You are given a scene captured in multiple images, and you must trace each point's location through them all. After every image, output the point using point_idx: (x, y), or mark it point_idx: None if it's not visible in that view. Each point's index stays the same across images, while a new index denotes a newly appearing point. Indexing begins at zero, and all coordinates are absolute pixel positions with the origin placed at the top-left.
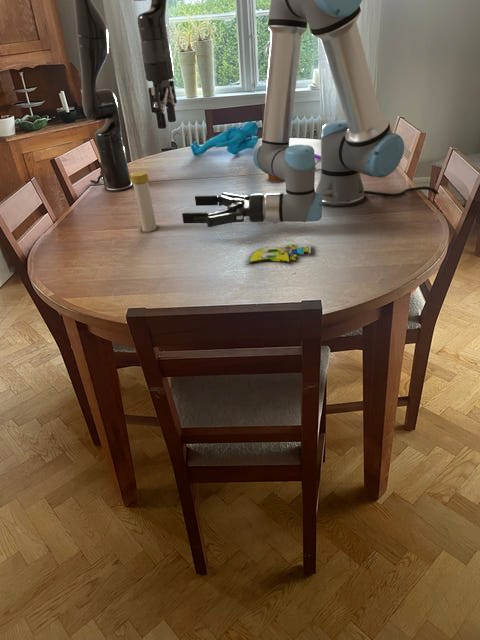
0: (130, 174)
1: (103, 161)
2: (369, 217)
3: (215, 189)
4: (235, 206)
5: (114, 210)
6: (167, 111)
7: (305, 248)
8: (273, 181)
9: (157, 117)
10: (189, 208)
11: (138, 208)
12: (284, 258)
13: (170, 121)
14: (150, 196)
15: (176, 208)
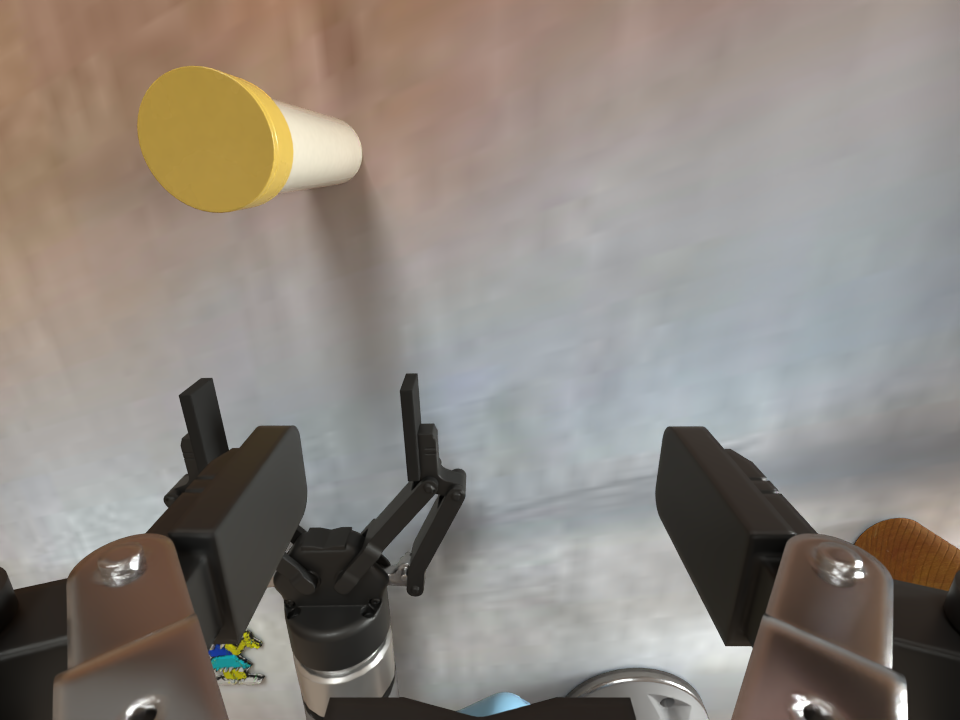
0: (171, 76)
1: None
2: None
3: (832, 318)
4: (282, 574)
5: None
6: (721, 512)
7: (237, 673)
8: (858, 538)
9: (157, 531)
10: (581, 263)
11: None
12: None
13: (665, 449)
14: (287, 192)
15: (587, 198)
